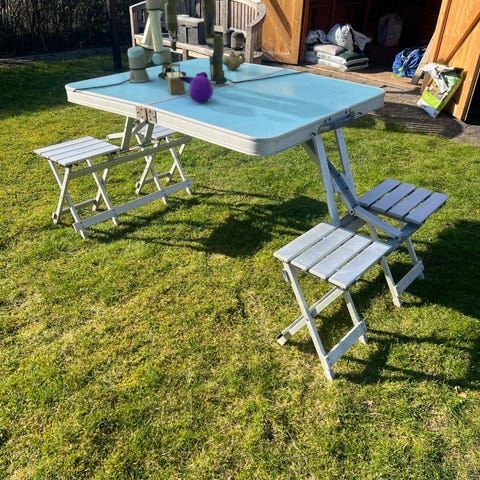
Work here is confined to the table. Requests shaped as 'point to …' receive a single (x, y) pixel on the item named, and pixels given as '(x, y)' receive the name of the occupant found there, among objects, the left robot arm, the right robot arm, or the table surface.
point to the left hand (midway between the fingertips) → (173, 77)
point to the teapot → (233, 61)
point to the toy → (199, 87)
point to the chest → (175, 86)
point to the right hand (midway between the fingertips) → (173, 50)
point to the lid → (175, 74)
